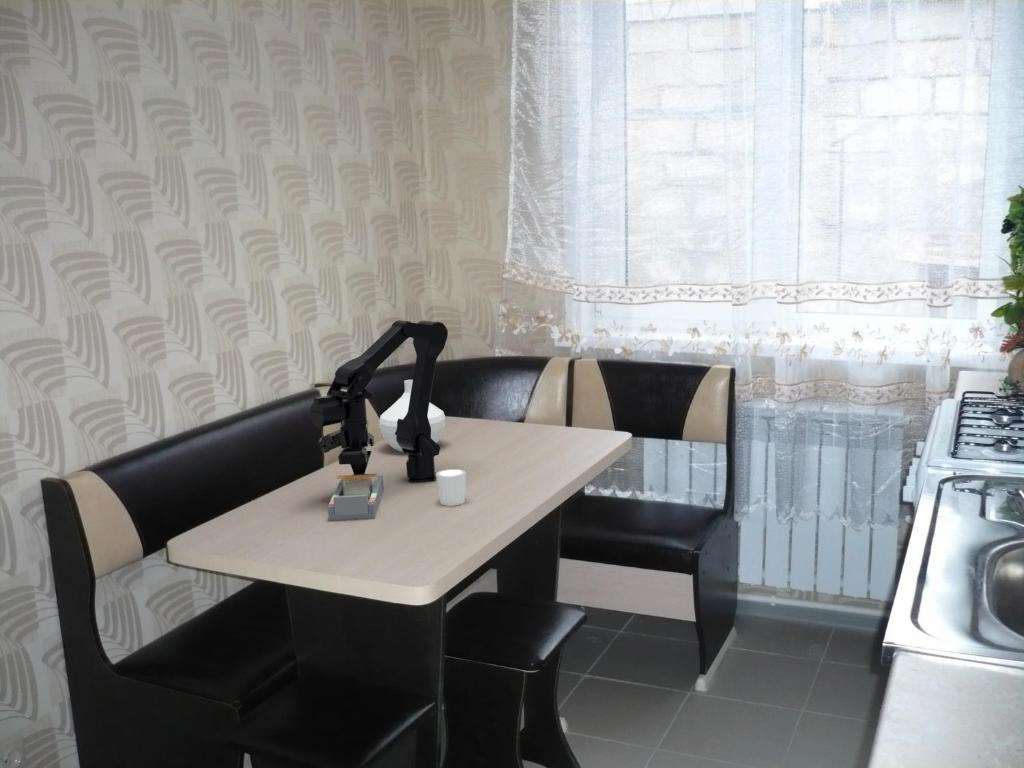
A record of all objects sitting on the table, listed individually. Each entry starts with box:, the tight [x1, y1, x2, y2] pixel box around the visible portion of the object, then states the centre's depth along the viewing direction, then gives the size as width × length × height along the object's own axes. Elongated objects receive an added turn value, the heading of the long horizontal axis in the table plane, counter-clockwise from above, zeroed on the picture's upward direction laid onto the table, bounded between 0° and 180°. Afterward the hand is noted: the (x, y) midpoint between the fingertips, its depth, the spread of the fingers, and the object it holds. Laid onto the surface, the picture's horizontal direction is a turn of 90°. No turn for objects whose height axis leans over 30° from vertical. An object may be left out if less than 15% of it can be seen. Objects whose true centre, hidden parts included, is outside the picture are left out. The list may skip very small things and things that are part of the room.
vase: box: [378, 379, 446, 453], centre depth 292 cm, size 18×18×19 cm
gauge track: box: [327, 475, 385, 522], centre depth 244 cm, size 10×23×5 cm, turn 2°
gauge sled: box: [336, 472, 378, 498], centre depth 246 cm, size 9×5×5 cm, turn 92°
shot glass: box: [436, 468, 467, 507], centre depth 242 cm, size 7×7×7 cm
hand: (359, 483), depth 250 cm, fingers closed
